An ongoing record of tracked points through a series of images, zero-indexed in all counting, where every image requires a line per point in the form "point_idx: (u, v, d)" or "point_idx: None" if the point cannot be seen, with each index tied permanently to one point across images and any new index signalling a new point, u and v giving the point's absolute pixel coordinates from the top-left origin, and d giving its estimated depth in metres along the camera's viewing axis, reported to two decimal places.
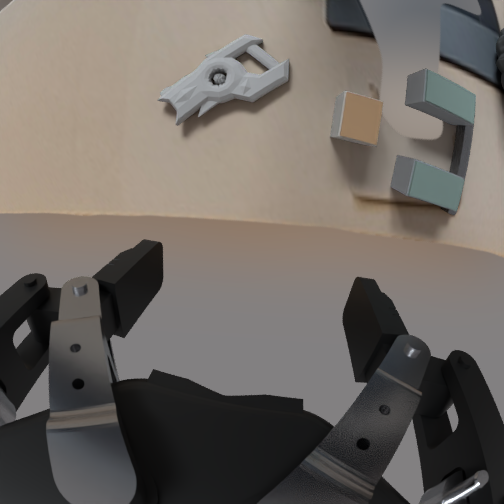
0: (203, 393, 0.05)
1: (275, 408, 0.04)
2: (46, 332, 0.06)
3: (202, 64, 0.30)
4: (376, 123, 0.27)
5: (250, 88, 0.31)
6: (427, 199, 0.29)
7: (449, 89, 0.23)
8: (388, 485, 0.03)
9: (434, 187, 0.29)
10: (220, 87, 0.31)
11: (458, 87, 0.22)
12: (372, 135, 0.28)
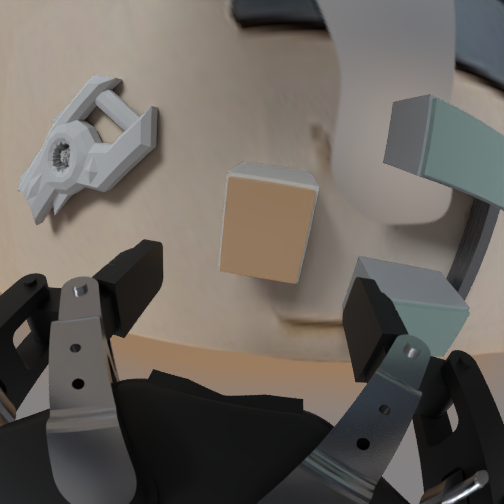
0: (202, 393, 0.05)
1: (275, 408, 0.04)
2: (46, 332, 0.06)
3: None
4: (297, 242, 0.15)
5: (97, 173, 0.19)
6: None
7: (477, 143, 0.11)
8: (388, 485, 0.03)
9: None
10: (63, 174, 0.19)
11: (495, 137, 0.10)
12: (287, 267, 0.16)
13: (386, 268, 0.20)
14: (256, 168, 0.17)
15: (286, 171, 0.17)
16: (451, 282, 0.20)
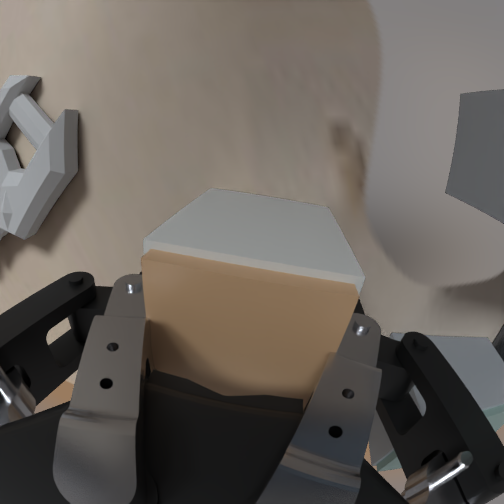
0: (202, 393, 0.05)
1: (275, 408, 0.04)
2: None
3: None
4: (303, 385, 0.06)
5: (11, 214, 0.11)
6: None
7: None
8: (388, 485, 0.03)
9: None
10: None
11: None
12: None
13: None
14: (225, 211, 0.08)
15: (286, 214, 0.09)
16: (498, 350, 0.12)
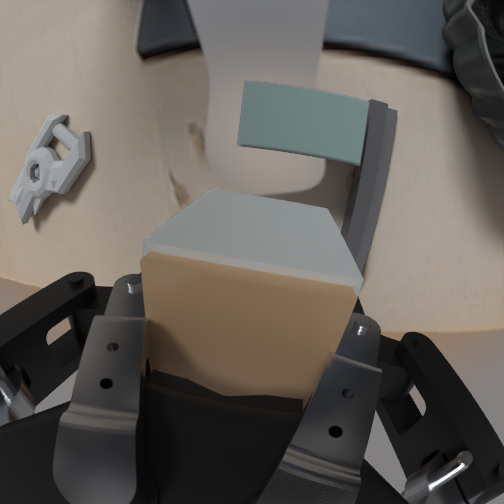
0: (202, 393, 0.05)
1: (275, 408, 0.04)
2: None
3: (25, 160, 0.25)
4: (301, 386, 0.06)
5: (56, 181, 0.25)
6: None
7: (295, 107, 0.16)
8: (388, 485, 0.03)
9: None
10: (37, 185, 0.25)
11: (321, 97, 0.16)
12: None
13: None
14: (224, 213, 0.08)
15: (285, 216, 0.09)
16: None
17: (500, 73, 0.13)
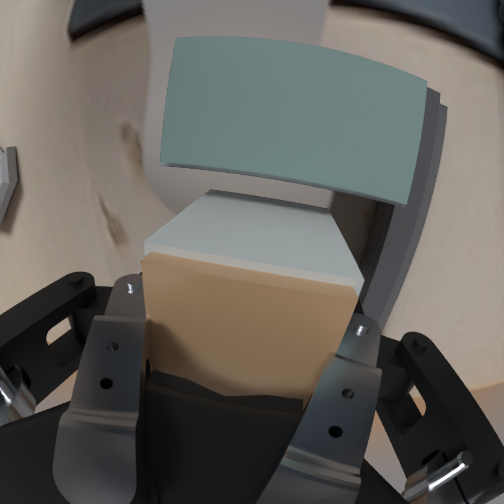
0: (202, 392, 0.05)
1: (275, 408, 0.04)
2: None
3: None
4: (302, 386, 0.06)
5: None
6: None
7: (277, 81, 0.07)
8: (388, 485, 0.03)
9: None
10: None
11: (333, 60, 0.07)
12: None
13: None
14: (224, 213, 0.08)
15: (286, 216, 0.09)
16: None
17: None
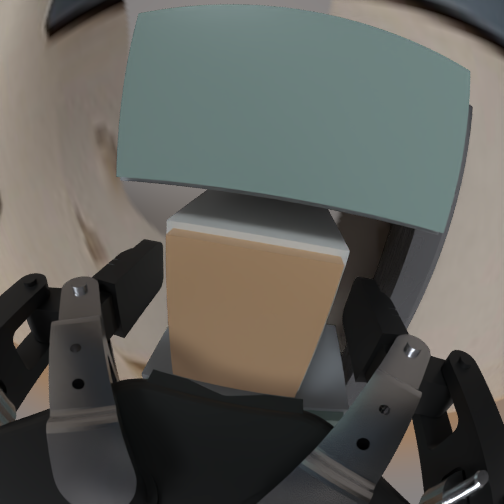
0: (202, 393, 0.05)
1: (275, 408, 0.04)
2: (47, 332, 0.06)
3: None
4: (300, 348, 0.08)
5: None
6: None
7: (272, 59, 0.05)
8: (388, 485, 0.03)
9: None
10: None
11: (350, 33, 0.04)
12: (281, 379, 0.09)
13: None
14: (232, 201, 0.10)
15: (285, 204, 0.10)
16: None
17: None
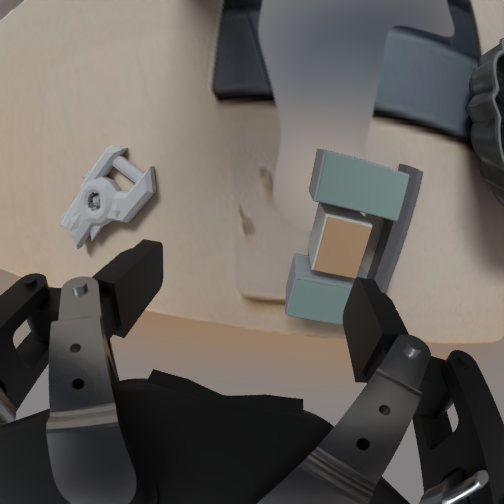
0: (202, 393, 0.05)
1: (275, 408, 0.04)
2: (46, 332, 0.06)
3: (81, 189, 0.32)
4: (359, 254, 0.26)
5: (120, 211, 0.32)
6: (313, 318, 0.29)
7: (360, 177, 0.23)
8: (388, 485, 0.03)
9: (323, 305, 0.29)
10: (97, 213, 0.32)
11: (378, 170, 0.23)
12: (352, 268, 0.27)
13: None
14: (333, 209, 0.28)
15: (348, 212, 0.29)
16: (370, 275, 0.32)
17: None
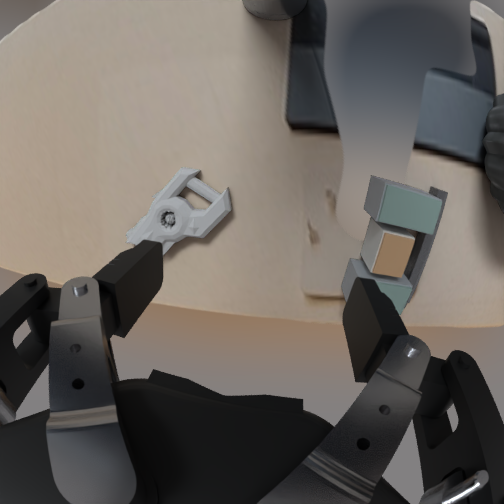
0: (202, 392, 0.05)
1: (275, 408, 0.04)
2: (46, 332, 0.06)
3: (152, 207, 0.38)
4: (405, 260, 0.32)
5: (198, 228, 0.39)
6: None
7: (409, 203, 0.29)
8: (388, 485, 0.03)
9: None
10: (172, 230, 0.39)
11: (422, 198, 0.28)
12: (399, 270, 0.33)
13: (364, 264, 0.38)
14: (385, 225, 0.34)
15: (394, 226, 0.35)
16: (406, 273, 0.39)
17: None
